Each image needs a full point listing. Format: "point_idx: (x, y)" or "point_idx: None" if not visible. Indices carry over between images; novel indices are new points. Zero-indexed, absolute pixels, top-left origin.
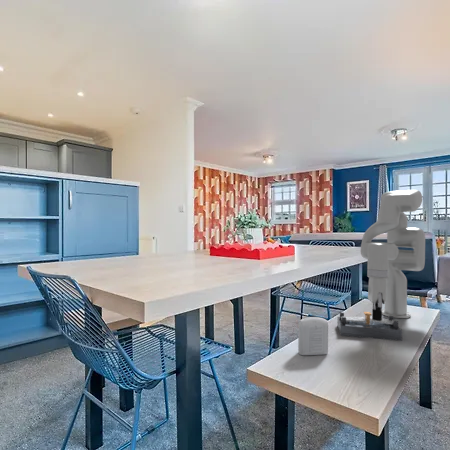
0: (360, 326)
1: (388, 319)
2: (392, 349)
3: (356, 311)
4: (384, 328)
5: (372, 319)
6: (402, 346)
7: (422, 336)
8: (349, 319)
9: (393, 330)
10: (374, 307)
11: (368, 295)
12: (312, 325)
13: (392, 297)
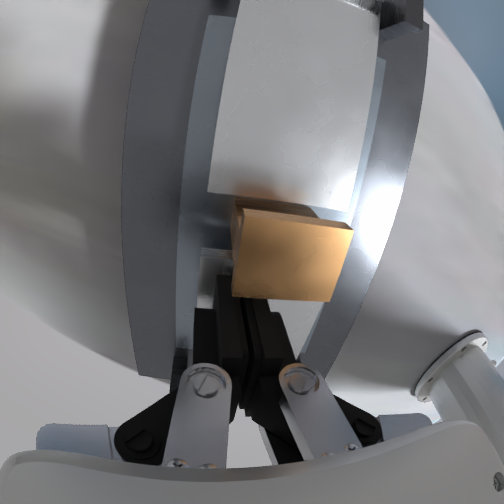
0: (143, 110)
1: None
2: (23, 249)
3: None
4: (136, 301)
5: (215, 267)
6: (73, 305)
7: None
8: (262, 21)
9: (134, 339)
10: (175, 402)
11: (455, 492)
12: None
13: (478, 412)
